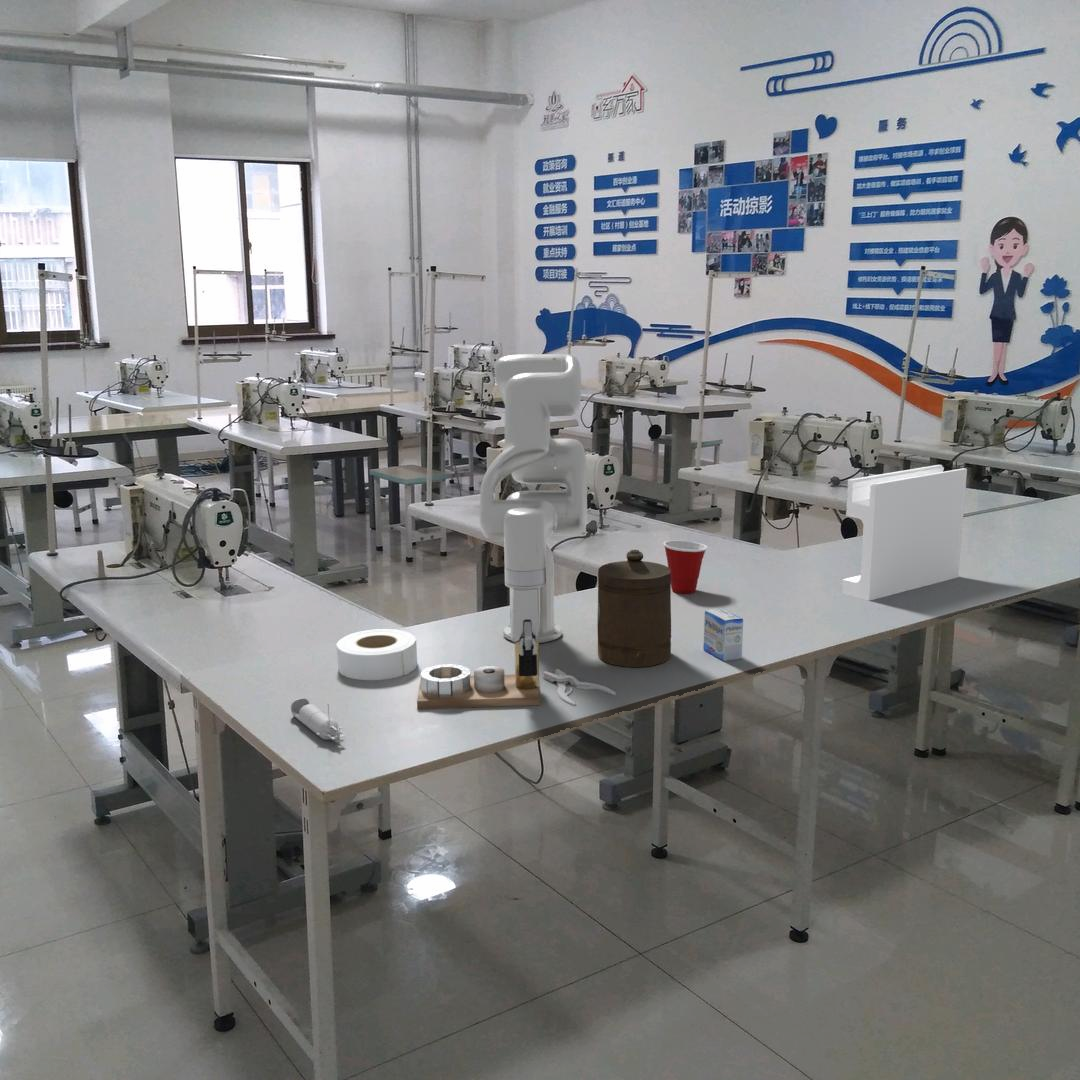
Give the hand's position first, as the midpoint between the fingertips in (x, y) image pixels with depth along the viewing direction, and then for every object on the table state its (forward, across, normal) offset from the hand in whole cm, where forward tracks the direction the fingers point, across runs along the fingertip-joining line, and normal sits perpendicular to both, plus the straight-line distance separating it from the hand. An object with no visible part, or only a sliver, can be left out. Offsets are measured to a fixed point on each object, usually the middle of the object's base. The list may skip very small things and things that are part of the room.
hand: (526, 666), depth 196 cm
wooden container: (+5, -19, +22) cm, 30 cm away
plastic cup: (+5, -65, +42) cm, 78 cm away
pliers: (+6, -2, +8) cm, 11 cm away
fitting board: (+5, 0, -9) cm, 10 cm away
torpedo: (+6, +13, -36) cm, 39 cm away
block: (+5, -65, +96) cm, 116 cm away
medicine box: (+5, -18, +40) cm, 45 cm away
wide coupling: (+4, 0, -15) cm, 15 cm away
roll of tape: (+6, -18, -29) cm, 34 cm away
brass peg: (+4, 0, 0) cm, 4 cm away
